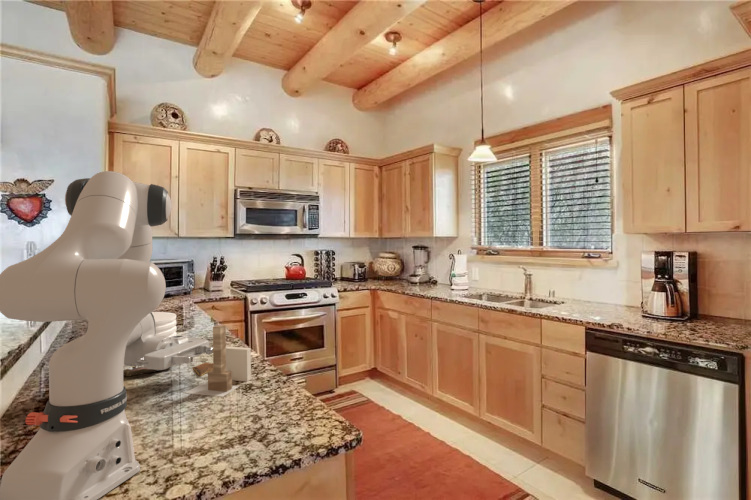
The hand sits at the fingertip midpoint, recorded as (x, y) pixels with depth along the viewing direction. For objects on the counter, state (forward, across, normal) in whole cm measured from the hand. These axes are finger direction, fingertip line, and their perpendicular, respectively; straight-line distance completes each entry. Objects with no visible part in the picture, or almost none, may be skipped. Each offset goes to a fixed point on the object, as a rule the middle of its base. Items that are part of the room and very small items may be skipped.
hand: (202, 355), depth 114 cm
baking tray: (-35, +14, +10) cm, 39 cm away
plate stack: (-59, +38, +10) cm, 71 cm away
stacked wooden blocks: (+6, 0, +10) cm, 11 cm away
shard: (-9, +15, +10) cm, 20 cm away
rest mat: (+4, 0, +10) cm, 11 cm away
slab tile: (+6, +9, +10) cm, 14 cm away
